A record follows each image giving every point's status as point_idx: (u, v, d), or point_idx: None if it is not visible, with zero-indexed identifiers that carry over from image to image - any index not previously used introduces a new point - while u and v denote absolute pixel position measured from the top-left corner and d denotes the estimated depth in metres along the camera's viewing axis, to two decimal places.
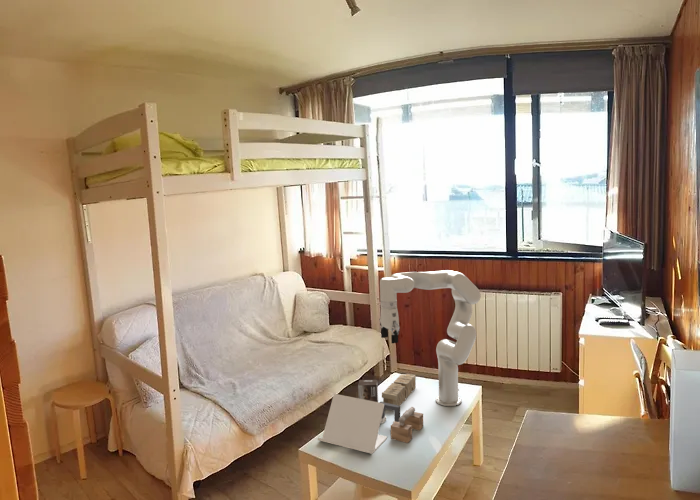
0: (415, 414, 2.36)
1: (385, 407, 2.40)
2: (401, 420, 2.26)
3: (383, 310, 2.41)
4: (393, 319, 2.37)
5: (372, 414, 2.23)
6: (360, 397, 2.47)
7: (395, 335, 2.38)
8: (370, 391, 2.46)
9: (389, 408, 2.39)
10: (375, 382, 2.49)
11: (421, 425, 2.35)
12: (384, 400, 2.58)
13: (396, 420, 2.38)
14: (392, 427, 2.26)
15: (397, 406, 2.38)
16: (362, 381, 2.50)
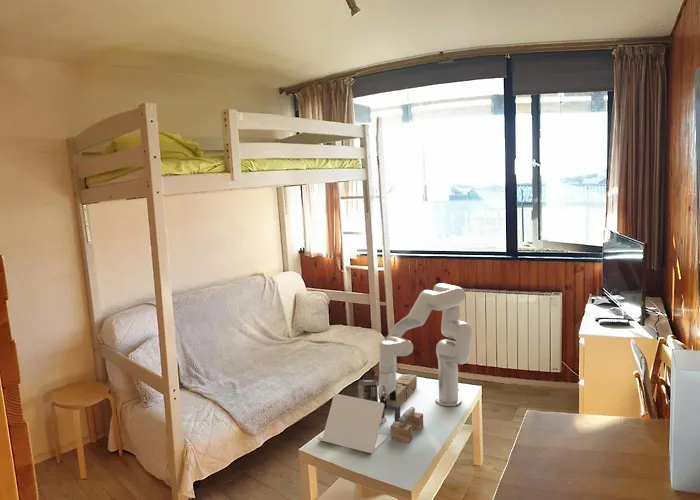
0: (415, 414, 2.36)
1: None
2: (401, 420, 2.26)
3: (392, 375, 2.36)
4: None
5: (372, 414, 2.24)
6: (360, 397, 2.47)
7: None
8: (371, 391, 2.46)
9: (389, 408, 2.39)
10: (375, 382, 2.49)
11: (421, 425, 2.35)
12: None
13: (396, 420, 2.38)
14: (392, 427, 2.26)
15: (397, 406, 2.38)
16: (362, 381, 2.50)
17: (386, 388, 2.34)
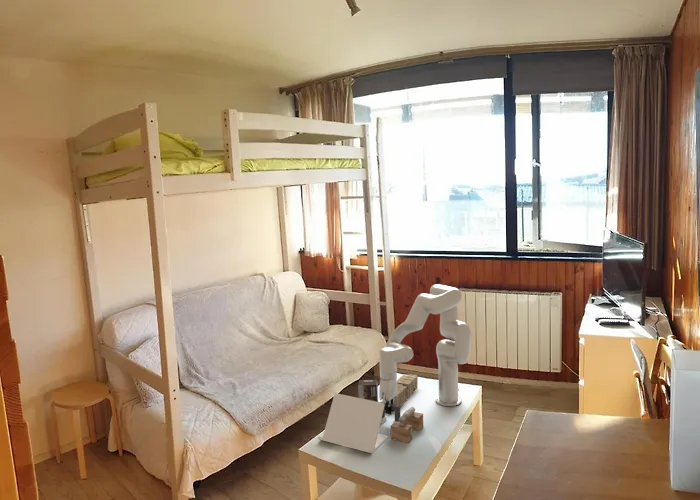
0: (415, 414, 2.36)
1: None
2: (401, 420, 2.26)
3: (393, 381, 2.37)
4: None
5: (372, 414, 2.24)
6: (360, 397, 2.47)
7: None
8: (370, 391, 2.46)
9: None
10: (375, 382, 2.49)
11: (421, 425, 2.35)
12: None
13: (396, 420, 2.38)
14: (392, 427, 2.26)
15: (397, 406, 2.38)
16: (362, 381, 2.50)
17: (387, 395, 2.34)
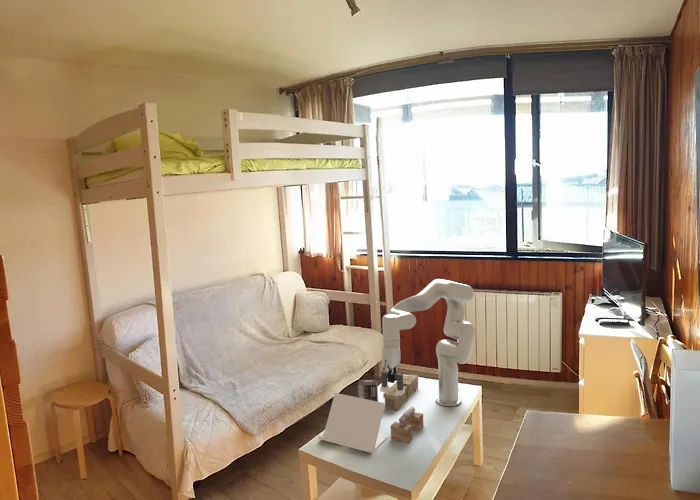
0: (415, 414, 2.36)
1: None
2: (401, 420, 2.26)
3: (395, 349, 2.33)
4: None
5: (372, 413, 2.24)
6: (360, 397, 2.47)
7: None
8: (370, 391, 2.46)
9: None
10: (375, 382, 2.49)
11: (421, 425, 2.35)
12: (386, 400, 2.58)
13: (399, 389, 2.34)
14: (392, 427, 2.26)
15: (399, 374, 2.34)
16: (362, 381, 2.50)
17: (390, 362, 2.30)
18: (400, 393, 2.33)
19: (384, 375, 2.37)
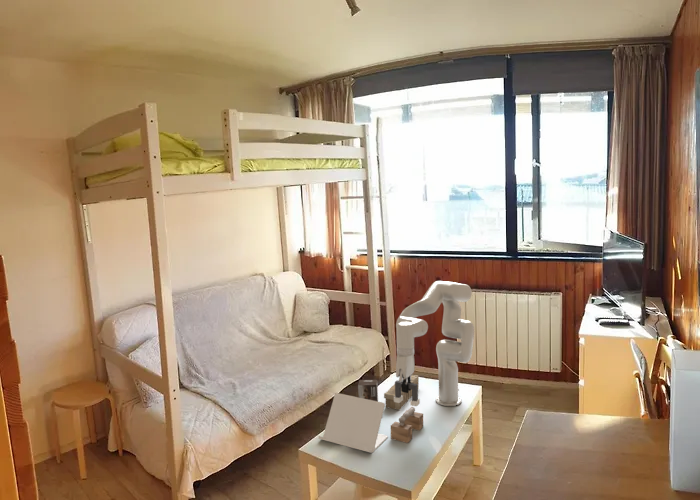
0: (415, 414, 2.36)
1: None
2: (401, 420, 2.26)
3: (410, 357, 2.25)
4: None
5: (372, 413, 2.24)
6: (360, 397, 2.47)
7: None
8: (370, 391, 2.46)
9: None
10: (375, 382, 2.49)
11: (421, 425, 2.35)
12: (386, 401, 2.57)
13: (414, 399, 2.27)
14: (392, 427, 2.26)
15: (414, 384, 2.27)
16: (362, 381, 2.50)
17: (404, 371, 2.23)
18: (415, 404, 2.26)
19: (398, 385, 2.30)
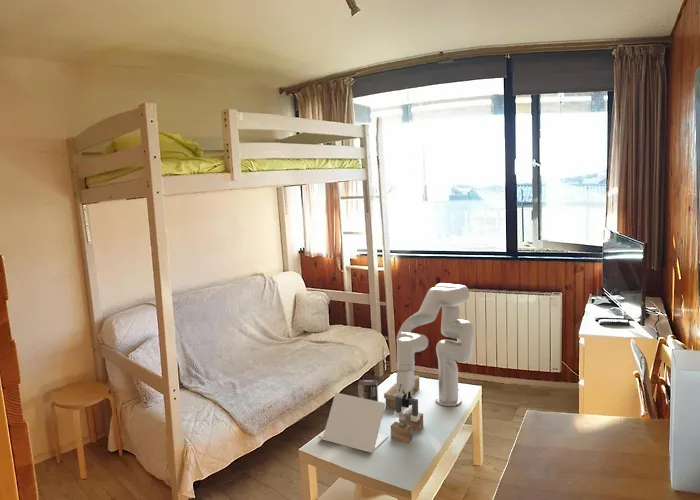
0: None
1: None
2: (401, 420, 2.26)
3: (410, 373, 2.26)
4: None
5: (373, 413, 2.24)
6: (360, 397, 2.47)
7: None
8: (370, 391, 2.46)
9: None
10: (375, 382, 2.49)
11: (421, 425, 2.35)
12: (386, 401, 2.57)
13: (414, 414, 2.28)
14: (392, 427, 2.26)
15: (414, 400, 2.27)
16: (362, 381, 2.50)
17: (405, 387, 2.24)
18: (415, 419, 2.27)
19: (398, 400, 2.31)
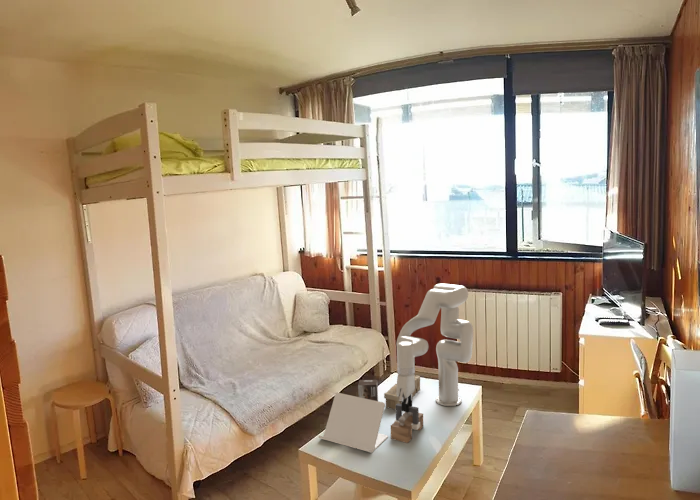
0: None
1: None
2: (401, 420, 2.26)
3: (410, 377, 2.27)
4: None
5: (373, 413, 2.24)
6: (360, 397, 2.47)
7: None
8: (370, 391, 2.46)
9: None
10: (375, 382, 2.49)
11: (421, 425, 2.35)
12: (386, 401, 2.57)
13: (414, 422, 2.28)
14: (392, 427, 2.26)
15: (415, 408, 2.28)
16: (362, 381, 2.50)
17: (405, 391, 2.24)
18: (416, 427, 2.28)
19: (399, 408, 2.31)
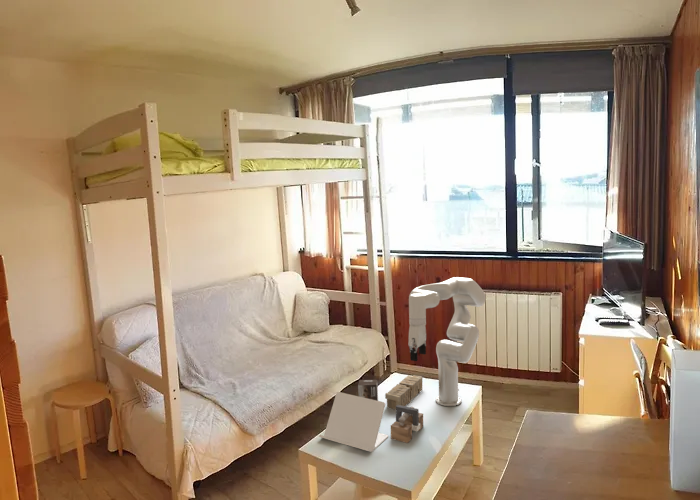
0: None
1: (403, 410, 2.30)
2: (401, 420, 2.26)
3: (422, 327, 2.36)
4: None
5: (373, 413, 2.25)
6: None
7: None
8: (370, 391, 2.46)
9: (407, 411, 2.29)
10: (375, 382, 2.49)
11: (421, 425, 2.35)
12: (388, 401, 2.57)
13: (414, 424, 2.29)
14: (392, 427, 2.26)
15: (415, 409, 2.28)
16: (362, 381, 2.50)
17: (417, 340, 2.33)
18: (416, 429, 2.28)
19: (399, 410, 2.31)
